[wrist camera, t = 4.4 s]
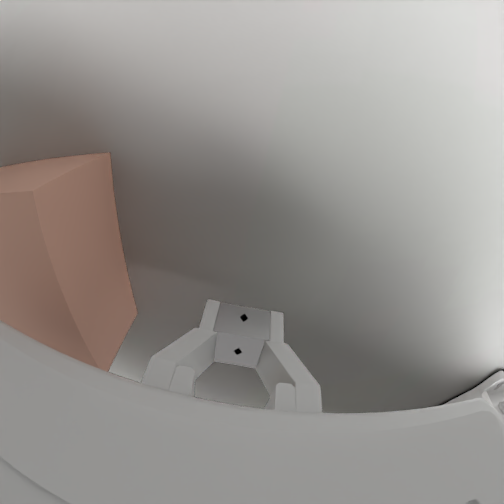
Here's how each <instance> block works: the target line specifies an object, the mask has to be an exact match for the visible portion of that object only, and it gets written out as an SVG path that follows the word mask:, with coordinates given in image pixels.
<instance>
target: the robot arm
mask: <svg viewBox="0 0 504 504" xmlns="http://www.w3.org/2000/svg"><path fill="white" fill-rule="evenodd" d="M213 362H220V363H226V364H232V365H238V366H243V367H248V368H254V369H256V371H257V373H258V375H259V377H260V379H261V381H262V383H263V385H264V386H265V388H266V390H267V392H268V394H269V396H270V398H269V400H268V402H267V404H266V406H265V408H264V409H263V408H255V407H247V406H240V405H234V404H228V403H222V402H217V401H212V400H206V399H202V398H197V397H195V380H196V379H197V378H198V377H199V376H200V375H201V374H202V373H203V372H204V371H205V370H206V369H207V368H208V367H209V366H210V365H212V364H213ZM0 504H504V371H499V372H497V373H495V374H494V375H492V376H491V377H489V378H488V379H487V380H485V381H484V382H483V383H481V384H480V385H478V386H477V387H475V388H474V389H472V390H470V391H468V392H466V393H464V394H462V395H460V396H458V397H456V398H455V399H453V400H451V401H449V402H447V403H445V404H443V405H440V406H434V407H427V408H419V409H411V410H401V411H390V412H373V413H323V411H322V399H321V387H320V385H319V383H318V382H317V381H316V379H315V378H314V377H313V376H312V374H311V373H310V372H309V371H308V369H307V368H306V367H305V366H304V364H303V363H302V362H301V360H300V359H299V358H298V357H297V355H296V354H295V353H294V351H293V350H292V349H291V347H290V346H289V345H288V344H286V343H284V314H283V312H277V311H269V310H263V309H257V308H251V307H245V306H240V305H235V304H231V303H226V302H220V301H216V300H211V299H208V300H207V302H206V305H205V309H204V312H203V315H202V318H201V322H200V325H199V328H196V327H195V328H193V329H192V330H190V331H189V332H187V333H186V334H184V335H183V336H181V337H180V338H178V339H177V340H175V341H174V342H172V343H171V344H169V345H168V346H166V347H165V348H163V349H162V350H160V351H159V352H157V353H156V354H154V355H153V356H151V359H150V361H149V363H148V366H147V368H146V371H145V373H144V376H143V379H142V381H141V383H140V382H136V381H133V380H130V379H127V378H124V377H121V376H118V375H115V374H113V373H110V372H107V371H104V370H102V369H99V368H96V367H94V366H91V365H89V364H86V363H84V362H82V361H79V360H77V359H74V358H72V357H70V356H68V355H65V354H63V353H61V352H59V351H57V350H55V349H53V348H50V347H48V346H46V345H44V344H42V343H40V342H38V341H37V340H35V339H33V338H31V337H29V336H27V335H25V334H24V333H22V332H20V331H18V330H16V329H15V328H13V327H11V326H10V325H8V324H6V323H5V322H3V321H1V320H0Z"/></svg>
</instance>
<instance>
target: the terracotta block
mask: <svg viewBox="0 0 504 504" xmlns="http://www.w3.org/2000/svg"><path fill="white" fill-rule="evenodd" d="M137 314H138V312H137V308H136V304H135V300H134V296H133V292H132V288H131V284H130V280H129V275H128V271H127V266H126V262H125V257H124V252H123V247H122V241H121V236H120V230H119V224H118V217H117V210H116V203H115V195H114V187H113V178H112V167H111V155H110V152H109V153H96V154H84V155H75V156H66V157H58V158H50V159H43V160H37V161H31V162H25V163H19V164H14V165H9V166H4V167H0V320H1V321H3V322H5V323H6V324H8V325H10V326H11V327H13V328H15V329H16V330H18V331H20V332H22V333H24V334H25V335H27V336H29V337H31V338H33V339H35V340H37V341H38V342H40V343H42V344H44V345H46V346H48V347H50V348H53V349H55V350H57V351H59V352H61V353H63V354H65V355H68V356H70V357H72V358H74V359H77V360H79V361H82V362H84V363H86V364H89V365H91V366H94V367H96V368H99V369H102V370H104V371H107V372H108V371H109V369H110V366H111V364H112V362H113V360H114V358H115V356H116V354H117V352H118V350H119V348H120V346H121V344H122V342H123V340H124V338H125V336H126V335H127V333H128V331H129V329H130V327H131V325H132V323H133V321H134V319H135V317H136V316H137Z"/></svg>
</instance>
